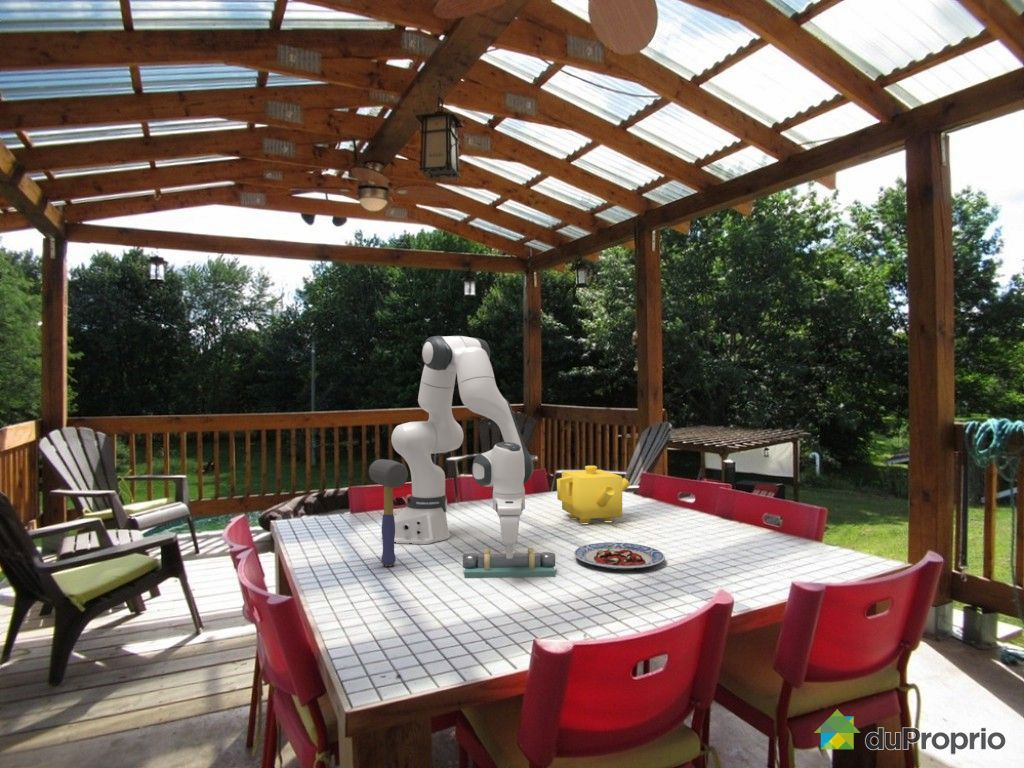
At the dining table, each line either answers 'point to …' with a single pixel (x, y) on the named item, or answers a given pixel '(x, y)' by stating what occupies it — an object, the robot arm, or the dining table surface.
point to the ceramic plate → (619, 555)
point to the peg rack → (509, 569)
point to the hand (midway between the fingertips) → (509, 553)
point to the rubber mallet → (388, 501)
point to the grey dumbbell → (508, 560)
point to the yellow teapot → (591, 494)
